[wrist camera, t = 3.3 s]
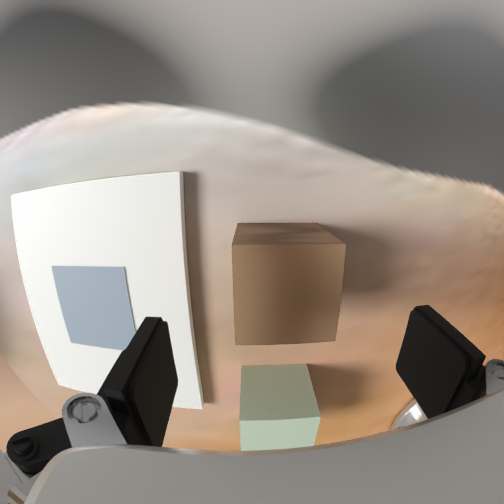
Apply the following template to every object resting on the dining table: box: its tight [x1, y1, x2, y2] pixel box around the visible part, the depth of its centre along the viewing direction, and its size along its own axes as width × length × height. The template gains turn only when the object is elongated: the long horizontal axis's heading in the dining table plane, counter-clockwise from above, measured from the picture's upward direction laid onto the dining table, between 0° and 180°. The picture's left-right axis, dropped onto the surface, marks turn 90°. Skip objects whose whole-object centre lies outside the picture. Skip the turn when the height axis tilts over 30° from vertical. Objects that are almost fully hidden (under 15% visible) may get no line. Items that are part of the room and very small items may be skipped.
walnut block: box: [232, 223, 346, 345], centre depth 19 cm, size 6×6×7 cm
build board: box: [11, 172, 204, 409], centre depth 22 cm, size 18×22×1 cm
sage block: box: [239, 364, 321, 451], centre depth 22 cm, size 6×6×7 cm
